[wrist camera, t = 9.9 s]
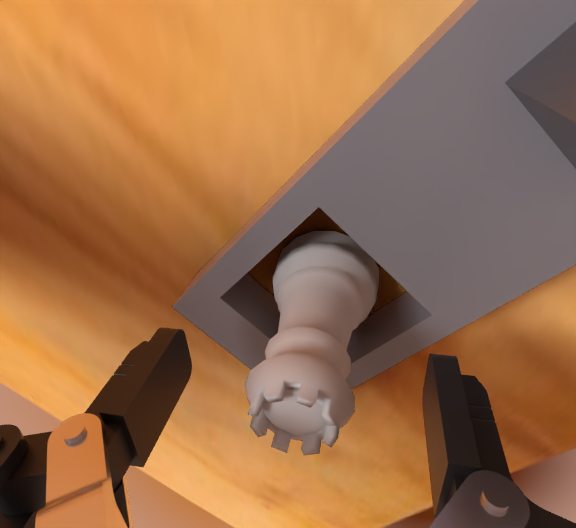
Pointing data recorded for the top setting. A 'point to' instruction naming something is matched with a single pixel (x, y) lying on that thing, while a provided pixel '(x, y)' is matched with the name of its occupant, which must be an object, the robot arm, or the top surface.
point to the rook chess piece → (312, 340)
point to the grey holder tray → (429, 188)
